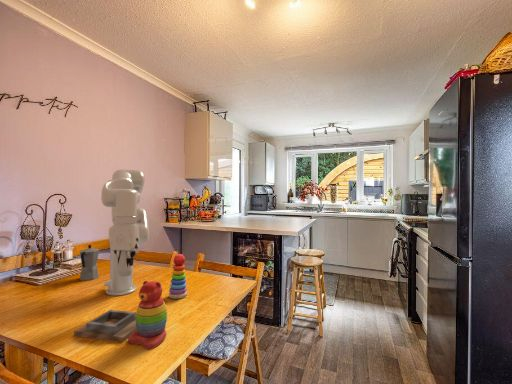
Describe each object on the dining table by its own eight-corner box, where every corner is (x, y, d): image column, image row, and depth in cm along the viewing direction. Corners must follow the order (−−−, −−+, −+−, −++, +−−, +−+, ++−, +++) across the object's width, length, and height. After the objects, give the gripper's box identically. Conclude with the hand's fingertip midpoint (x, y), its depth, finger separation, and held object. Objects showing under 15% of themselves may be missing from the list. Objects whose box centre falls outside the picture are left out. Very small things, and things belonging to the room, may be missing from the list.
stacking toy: (182, 300, 115) (182, 256, 115) (165, 298, 116) (165, 255, 117) (190, 293, 123) (190, 252, 123) (174, 292, 124) (174, 252, 124)
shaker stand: (74, 335, 86) (74, 323, 86) (102, 318, 97) (102, 307, 97) (123, 342, 82) (123, 329, 82) (146, 324, 94) (146, 312, 94)
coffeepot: (85, 274, 150) (85, 242, 150) (103, 274, 152) (103, 242, 152) (71, 283, 135) (71, 248, 135) (91, 283, 137) (91, 247, 137)
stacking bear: (124, 342, 82) (125, 284, 82) (149, 327, 91) (150, 275, 92) (151, 350, 78) (151, 289, 78) (174, 334, 87) (175, 279, 87)
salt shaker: (116, 278, 101) (117, 244, 101) (116, 273, 106) (117, 241, 106) (133, 276, 104) (134, 242, 104) (133, 272, 109) (133, 240, 109)
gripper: (100, 220, 103) (100, 268, 103) (138, 222, 100) (137, 271, 100) (114, 219, 110) (114, 263, 111) (150, 220, 107) (149, 266, 107)
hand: (125, 266), depth 105 cm, fingers closed on salt shaker, 3 cm apart
